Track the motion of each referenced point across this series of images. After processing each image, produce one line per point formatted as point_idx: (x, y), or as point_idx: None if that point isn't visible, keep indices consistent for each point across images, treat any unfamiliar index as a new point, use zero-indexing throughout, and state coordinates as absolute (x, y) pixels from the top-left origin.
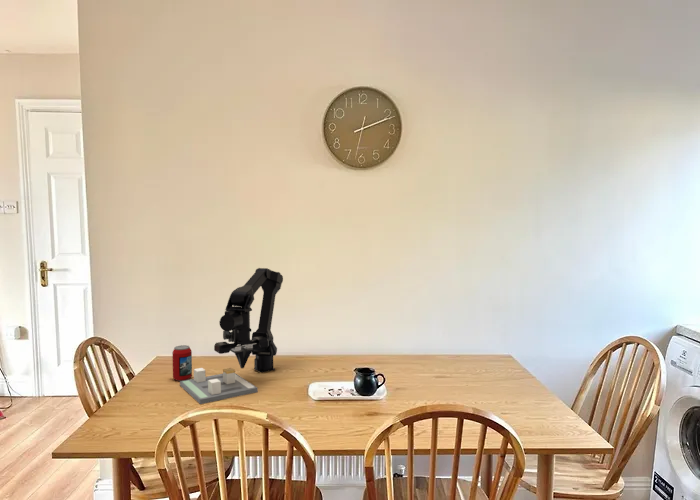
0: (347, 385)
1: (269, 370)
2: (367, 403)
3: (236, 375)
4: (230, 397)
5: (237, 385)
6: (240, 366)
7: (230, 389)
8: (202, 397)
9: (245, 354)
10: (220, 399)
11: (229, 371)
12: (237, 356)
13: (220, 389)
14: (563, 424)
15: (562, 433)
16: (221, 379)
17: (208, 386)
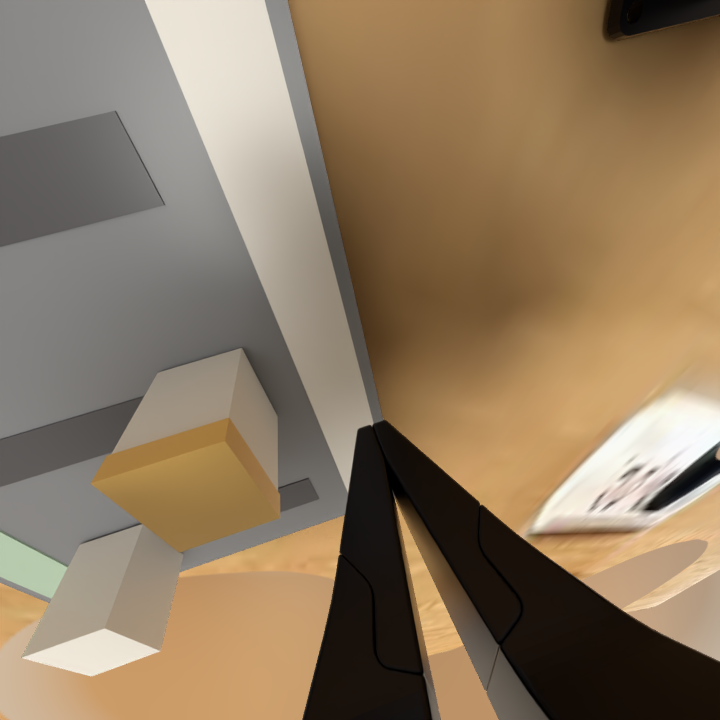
0: (699, 446)
1: (717, 14)
2: (604, 545)
3: (305, 205)
4: None
5: (292, 459)
6: (358, 452)
7: None
8: None
9: (499, 709)
10: None
11: (212, 537)
12: (348, 644)
13: (175, 581)
14: (696, 578)
15: (667, 592)
16: (117, 295)
17: (61, 595)
